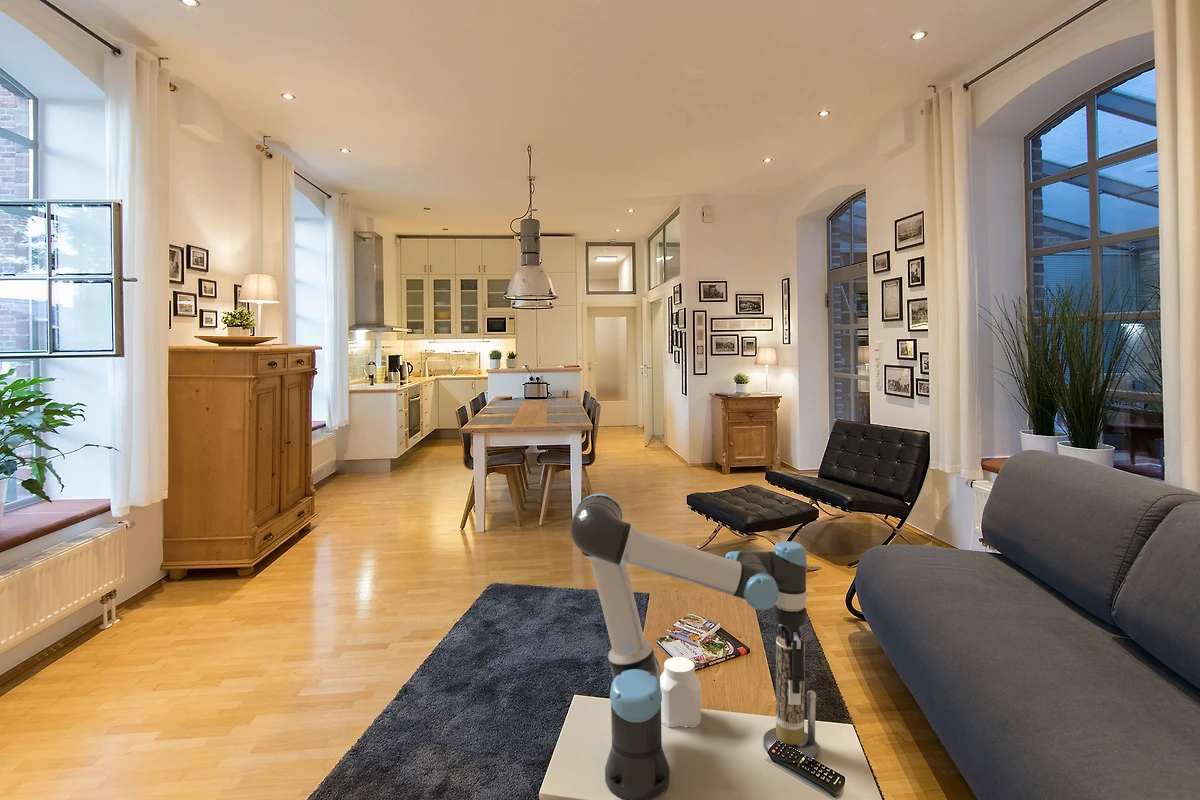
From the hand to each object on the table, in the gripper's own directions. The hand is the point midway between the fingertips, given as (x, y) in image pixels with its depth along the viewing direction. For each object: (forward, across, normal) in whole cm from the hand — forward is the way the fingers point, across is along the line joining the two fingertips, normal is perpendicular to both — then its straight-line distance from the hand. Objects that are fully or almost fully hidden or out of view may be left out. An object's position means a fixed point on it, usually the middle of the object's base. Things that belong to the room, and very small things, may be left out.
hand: (790, 695), depth 152 cm
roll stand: (+13, 0, 0) cm, 13 cm away
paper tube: (+11, 0, 0) cm, 11 cm away
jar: (+14, +14, +26) cm, 32 cm away
